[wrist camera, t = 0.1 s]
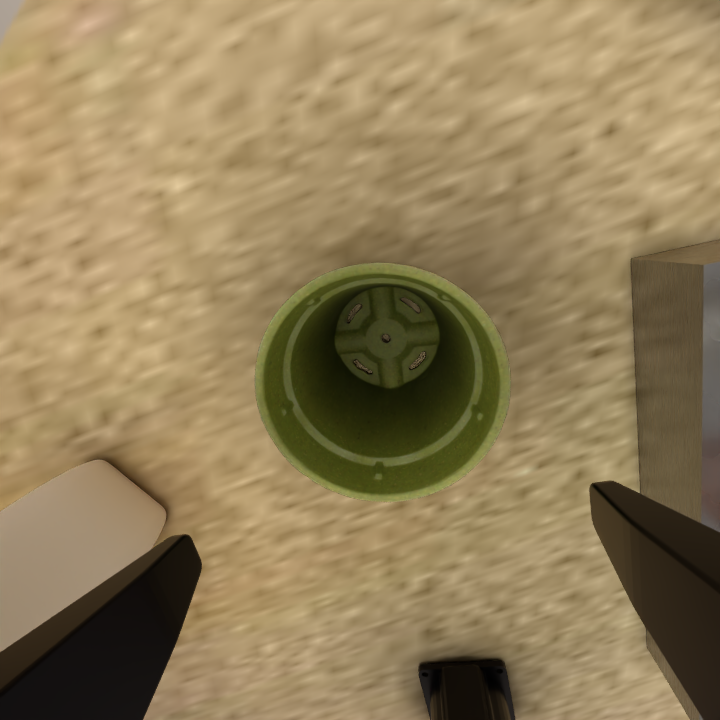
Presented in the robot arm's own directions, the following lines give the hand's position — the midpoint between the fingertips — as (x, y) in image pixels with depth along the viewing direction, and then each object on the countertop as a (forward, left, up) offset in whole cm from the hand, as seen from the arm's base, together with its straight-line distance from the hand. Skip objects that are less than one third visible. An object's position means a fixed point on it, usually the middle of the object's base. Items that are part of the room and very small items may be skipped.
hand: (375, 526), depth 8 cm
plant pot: (+1, 0, -15) cm, 15 cm away
